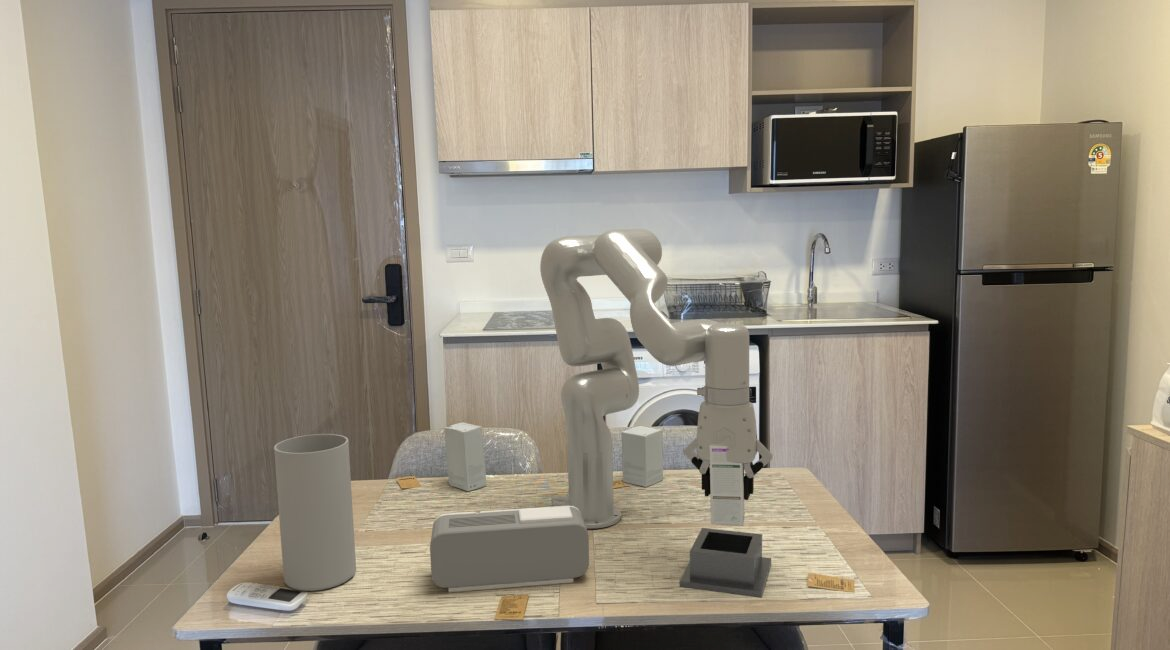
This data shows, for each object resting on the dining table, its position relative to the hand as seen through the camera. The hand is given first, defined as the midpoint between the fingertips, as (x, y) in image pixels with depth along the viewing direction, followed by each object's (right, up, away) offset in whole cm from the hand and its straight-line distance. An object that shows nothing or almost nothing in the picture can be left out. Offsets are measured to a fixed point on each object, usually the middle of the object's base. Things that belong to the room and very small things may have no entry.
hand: (727, 494), depth 143 cm
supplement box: (-11, -8, +54) cm, 56 cm away
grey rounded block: (-38, -16, +3) cm, 42 cm away
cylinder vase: (-73, -16, +4) cm, 75 cm away
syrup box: (0, -5, +1) cm, 5 cm away
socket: (0, -15, +2) cm, 15 cm away
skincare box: (-54, -9, +53) cm, 76 cm away
